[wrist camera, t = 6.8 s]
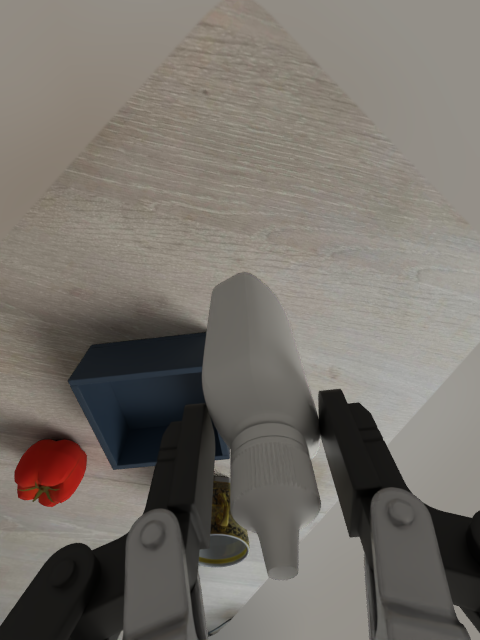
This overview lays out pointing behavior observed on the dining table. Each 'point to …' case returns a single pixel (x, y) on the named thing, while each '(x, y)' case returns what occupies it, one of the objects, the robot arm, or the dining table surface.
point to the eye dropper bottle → (262, 417)
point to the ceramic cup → (224, 531)
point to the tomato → (50, 471)
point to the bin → (140, 394)
